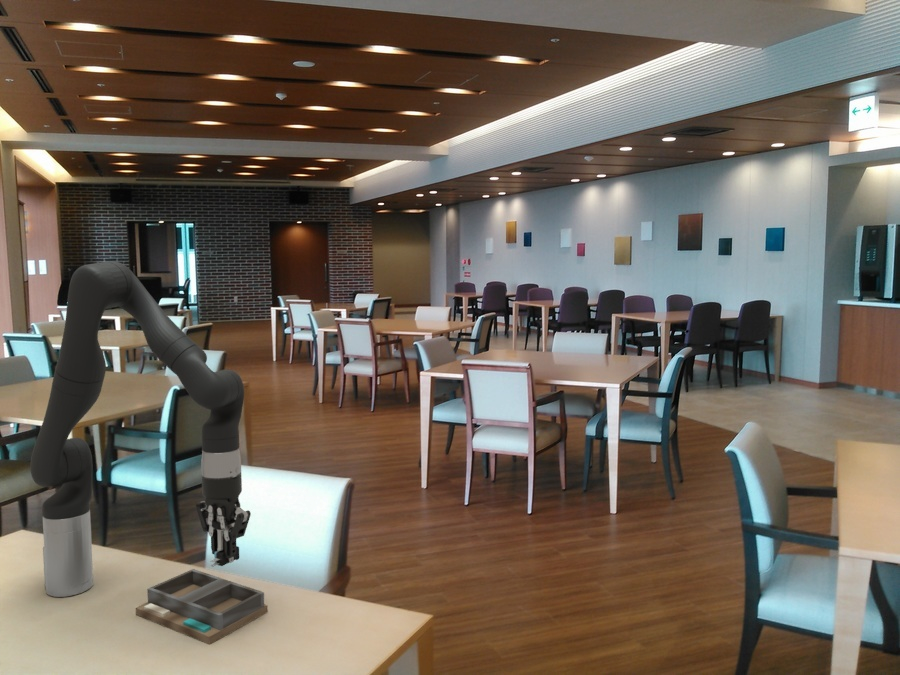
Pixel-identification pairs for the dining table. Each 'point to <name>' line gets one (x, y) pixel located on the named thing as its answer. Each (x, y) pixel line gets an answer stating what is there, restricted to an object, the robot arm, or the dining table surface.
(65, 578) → the robot arm
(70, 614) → the dining table surface
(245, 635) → the dining table surface
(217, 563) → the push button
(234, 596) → the dock
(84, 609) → the dining table surface
